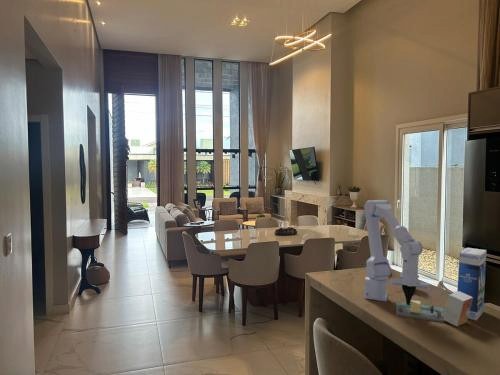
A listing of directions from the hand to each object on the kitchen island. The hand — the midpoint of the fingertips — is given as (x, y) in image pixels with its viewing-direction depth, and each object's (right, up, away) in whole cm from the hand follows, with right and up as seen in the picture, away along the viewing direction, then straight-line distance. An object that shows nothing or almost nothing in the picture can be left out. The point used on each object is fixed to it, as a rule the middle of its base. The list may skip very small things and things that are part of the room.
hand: (408, 304), depth 146 cm
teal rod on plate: (+4, -4, -1) cm, 6 cm away
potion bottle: (+14, -2, +31) cm, 33 cm away
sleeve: (+2, -3, -1) cm, 4 cm away
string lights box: (+25, -5, +1) cm, 26 cm away
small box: (+15, -4, -7) cm, 17 cm away
